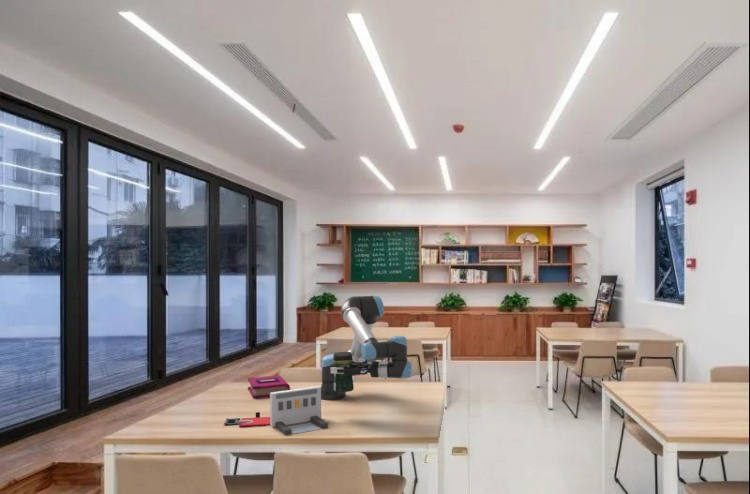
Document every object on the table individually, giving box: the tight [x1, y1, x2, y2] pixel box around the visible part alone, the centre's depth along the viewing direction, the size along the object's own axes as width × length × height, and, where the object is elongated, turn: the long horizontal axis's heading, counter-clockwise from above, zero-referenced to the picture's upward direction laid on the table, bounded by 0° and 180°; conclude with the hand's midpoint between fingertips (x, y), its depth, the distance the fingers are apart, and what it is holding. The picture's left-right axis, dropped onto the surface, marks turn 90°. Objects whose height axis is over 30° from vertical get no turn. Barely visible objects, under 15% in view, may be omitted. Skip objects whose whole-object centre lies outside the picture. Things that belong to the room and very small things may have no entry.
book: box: [247, 374, 291, 400], centre depth 296 cm, size 21×28×8 cm
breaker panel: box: [269, 385, 322, 428], centre depth 232 cm, size 4×24×15 cm, turn 118°
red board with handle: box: [224, 411, 270, 428], centre depth 234 cm, size 30×3×15 cm
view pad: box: [288, 422, 320, 435], centre depth 222 cm, size 11×12×1 cm
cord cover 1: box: [274, 421, 292, 436], centre depth 220 cm, size 14×3×2 cm, turn 28°
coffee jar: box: [333, 351, 354, 393], centre depth 238 cm, size 10×8×19 cm
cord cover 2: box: [310, 416, 329, 430], centre depth 228 cm, size 14×3×2 cm, turn 28°
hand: (333, 368), depth 239 cm, fingers closed on coffee jar, 8 cm apart
